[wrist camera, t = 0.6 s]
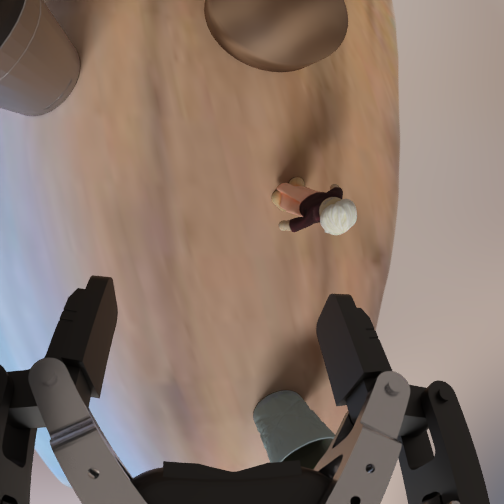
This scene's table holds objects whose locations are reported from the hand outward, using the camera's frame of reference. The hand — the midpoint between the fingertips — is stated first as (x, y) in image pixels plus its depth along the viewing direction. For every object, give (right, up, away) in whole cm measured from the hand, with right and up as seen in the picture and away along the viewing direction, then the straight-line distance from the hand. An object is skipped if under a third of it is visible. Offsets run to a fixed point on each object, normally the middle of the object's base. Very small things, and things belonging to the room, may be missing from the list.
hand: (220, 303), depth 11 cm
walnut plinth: (+3, +30, +17) cm, 35 cm away
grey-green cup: (+5, -23, +35) cm, 43 cm away
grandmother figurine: (+5, +8, +25) cm, 27 cm away
